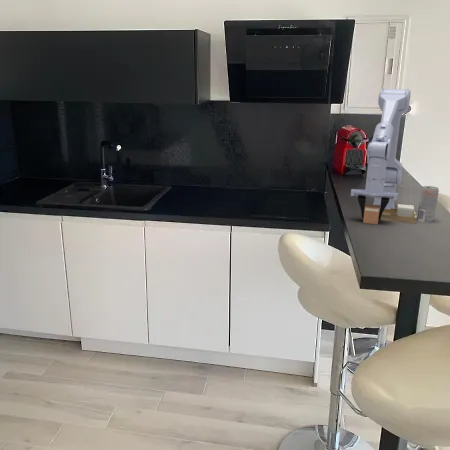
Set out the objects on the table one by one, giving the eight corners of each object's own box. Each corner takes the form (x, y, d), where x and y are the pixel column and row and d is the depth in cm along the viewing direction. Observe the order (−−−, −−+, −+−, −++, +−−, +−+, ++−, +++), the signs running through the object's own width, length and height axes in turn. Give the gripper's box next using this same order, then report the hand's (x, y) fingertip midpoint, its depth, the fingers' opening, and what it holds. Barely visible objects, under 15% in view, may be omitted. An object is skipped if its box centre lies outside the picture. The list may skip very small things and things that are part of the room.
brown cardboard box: (363, 220, 157) (365, 203, 155) (377, 222, 155) (380, 205, 154) (362, 224, 153) (364, 206, 151) (377, 225, 151) (379, 208, 149)
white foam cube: (396, 216, 161) (397, 204, 160) (411, 218, 159) (413, 205, 158) (396, 220, 156) (397, 207, 155) (412, 221, 155) (414, 208, 153)
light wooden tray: (372, 214, 165) (373, 206, 165) (414, 218, 161) (415, 210, 160) (371, 220, 157) (372, 212, 156) (415, 225, 153) (416, 216, 152)
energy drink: (429, 220, 160) (434, 186, 156) (436, 224, 155) (442, 189, 151) (414, 219, 160) (419, 185, 156) (421, 224, 154) (426, 189, 151)
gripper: (351, 178, 148) (347, 219, 152) (399, 182, 144) (393, 224, 148) (353, 175, 155) (349, 214, 159) (399, 178, 150) (394, 218, 154)
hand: (371, 218), depth 154 cm, fingers closed on brown cardboard box, 5 cm apart
